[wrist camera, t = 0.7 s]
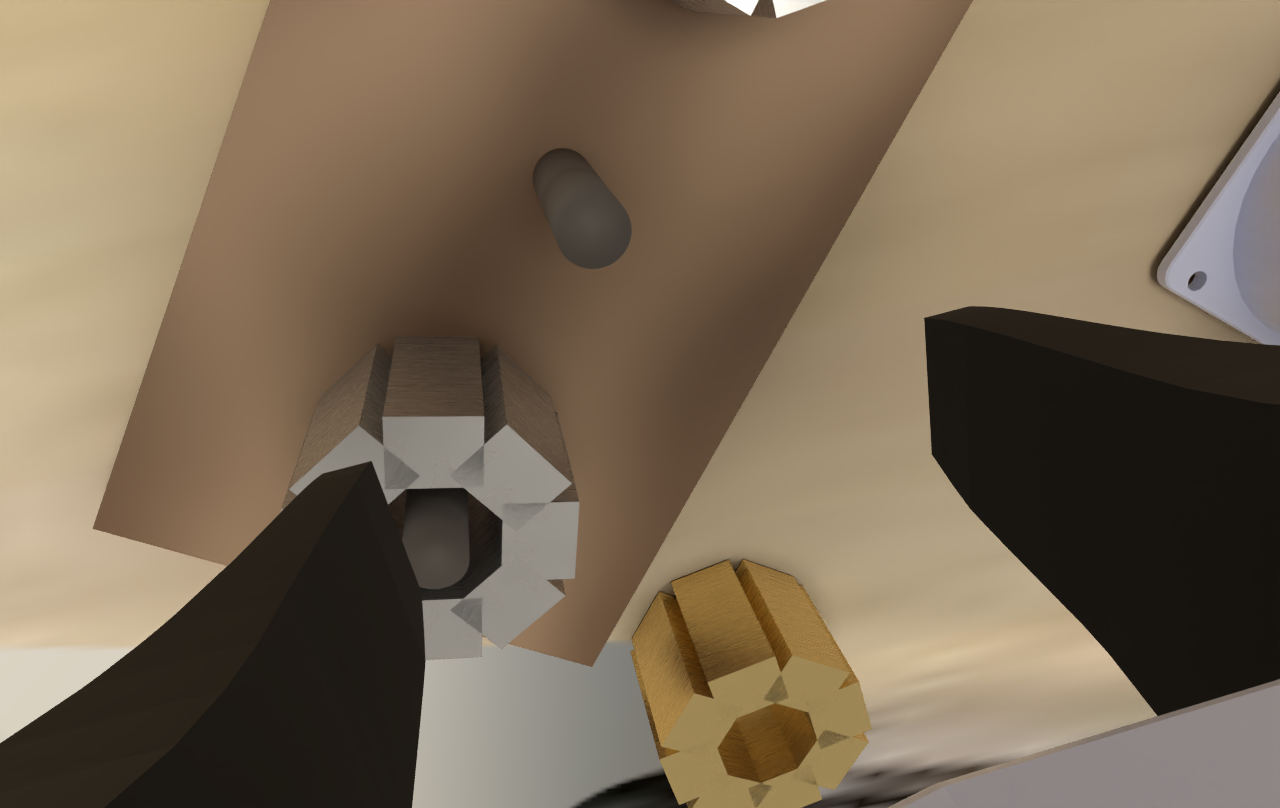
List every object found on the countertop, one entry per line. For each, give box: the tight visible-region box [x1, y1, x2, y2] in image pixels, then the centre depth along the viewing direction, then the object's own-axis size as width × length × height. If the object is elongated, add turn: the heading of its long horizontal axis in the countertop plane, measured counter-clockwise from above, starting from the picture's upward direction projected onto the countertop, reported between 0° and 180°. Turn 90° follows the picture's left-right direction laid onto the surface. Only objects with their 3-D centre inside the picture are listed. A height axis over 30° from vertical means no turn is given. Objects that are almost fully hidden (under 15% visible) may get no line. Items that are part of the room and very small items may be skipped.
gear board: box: [93, 0, 973, 667], centre depth 17 cm, size 12×22×6 cm, turn 153°
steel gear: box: [281, 336, 579, 660], centre depth 18 cm, size 5×5×4 cm
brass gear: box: [631, 559, 872, 808], centre depth 24 cm, size 5×5×4 cm
